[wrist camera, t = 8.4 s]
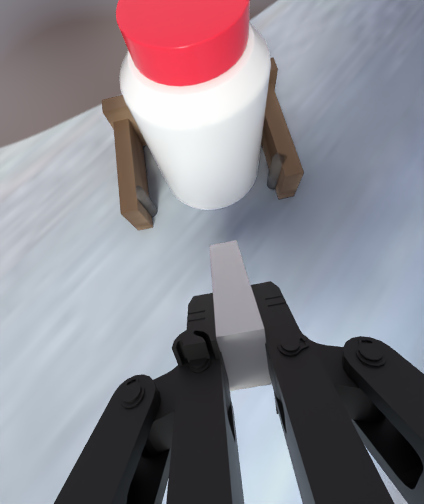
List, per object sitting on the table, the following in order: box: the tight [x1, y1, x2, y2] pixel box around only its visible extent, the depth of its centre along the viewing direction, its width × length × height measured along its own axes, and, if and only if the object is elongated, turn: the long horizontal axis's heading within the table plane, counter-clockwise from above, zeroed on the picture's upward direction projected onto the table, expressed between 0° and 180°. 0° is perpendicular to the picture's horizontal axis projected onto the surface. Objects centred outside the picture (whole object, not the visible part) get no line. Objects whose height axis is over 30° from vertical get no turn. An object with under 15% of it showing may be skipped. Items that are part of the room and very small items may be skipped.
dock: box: [102, 58, 304, 230], centre depth 18 cm, size 13×9×4 cm
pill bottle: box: [116, 0, 271, 210], centre depth 15 cm, size 8×8×11 cm
